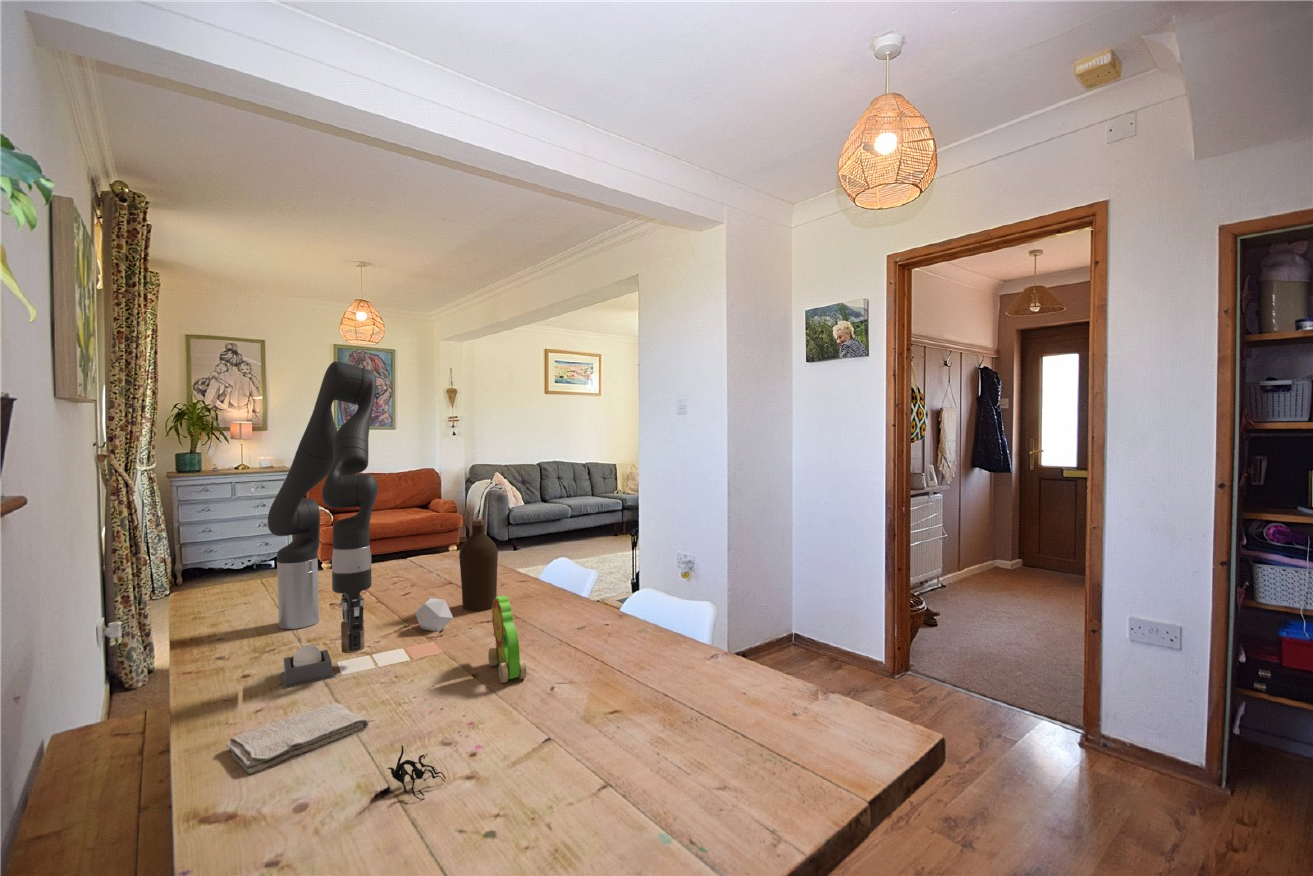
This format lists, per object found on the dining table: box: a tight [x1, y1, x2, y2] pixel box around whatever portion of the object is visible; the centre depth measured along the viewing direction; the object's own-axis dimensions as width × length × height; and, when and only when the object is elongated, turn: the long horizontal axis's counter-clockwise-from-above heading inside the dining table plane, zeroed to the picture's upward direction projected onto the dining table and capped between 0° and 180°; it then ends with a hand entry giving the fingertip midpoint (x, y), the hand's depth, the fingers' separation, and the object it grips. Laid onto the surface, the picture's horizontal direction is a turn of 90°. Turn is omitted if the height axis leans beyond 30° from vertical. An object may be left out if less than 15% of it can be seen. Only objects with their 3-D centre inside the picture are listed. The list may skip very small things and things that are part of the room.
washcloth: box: [226, 702, 369, 774], centre depth 99 cm, size 12×18×3 cm, turn 142°
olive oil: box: [458, 518, 499, 612], centre depth 172 cm, size 11×11×25 cm
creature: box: [386, 745, 447, 801], centre depth 86 cm, size 8×5×8 cm
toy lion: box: [487, 595, 527, 684], centre depth 127 cm, size 16×5×15 cm, turn 27°
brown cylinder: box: [340, 618, 365, 654], centre depth 128 cm, size 4×4×6 cm
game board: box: [336, 641, 444, 676], centre depth 132 cm, size 10×22×1 cm, turn 124°
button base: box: [280, 649, 336, 689], centre depth 123 cm, size 9×9×4 cm
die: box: [414, 597, 454, 633], centre depth 152 cm, size 8×9×10 cm
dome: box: [293, 644, 321, 668], centre depth 123 cm, size 5×5×6 cm
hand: (353, 646), depth 128 cm, fingers closed on brown cylinder, 4 cm apart
